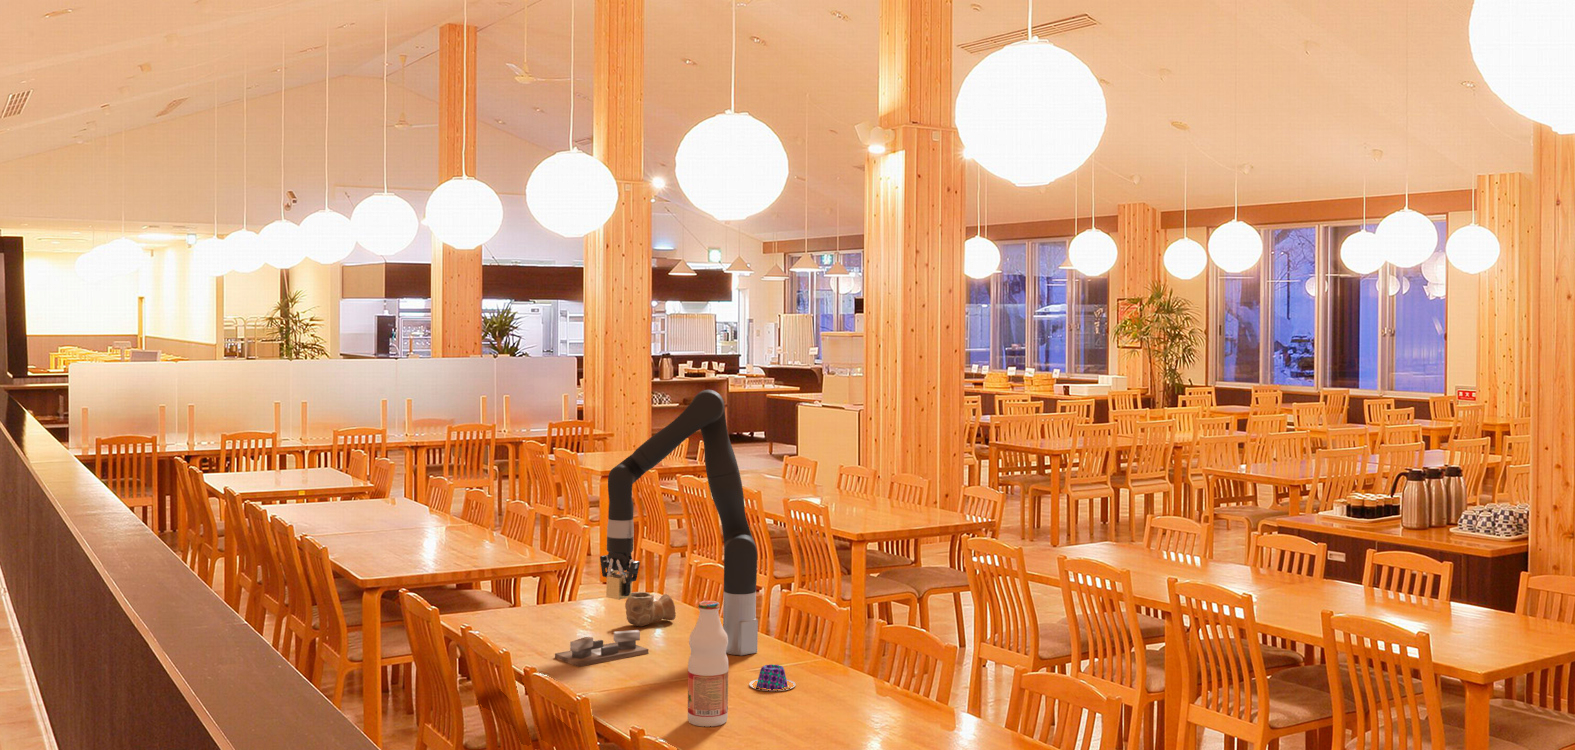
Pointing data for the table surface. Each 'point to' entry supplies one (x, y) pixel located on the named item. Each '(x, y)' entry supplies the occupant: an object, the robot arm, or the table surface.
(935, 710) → the table surface
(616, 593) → the tan knob block
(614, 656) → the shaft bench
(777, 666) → the pudding
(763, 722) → the table surface
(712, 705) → the fruit juice
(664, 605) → the pipe
